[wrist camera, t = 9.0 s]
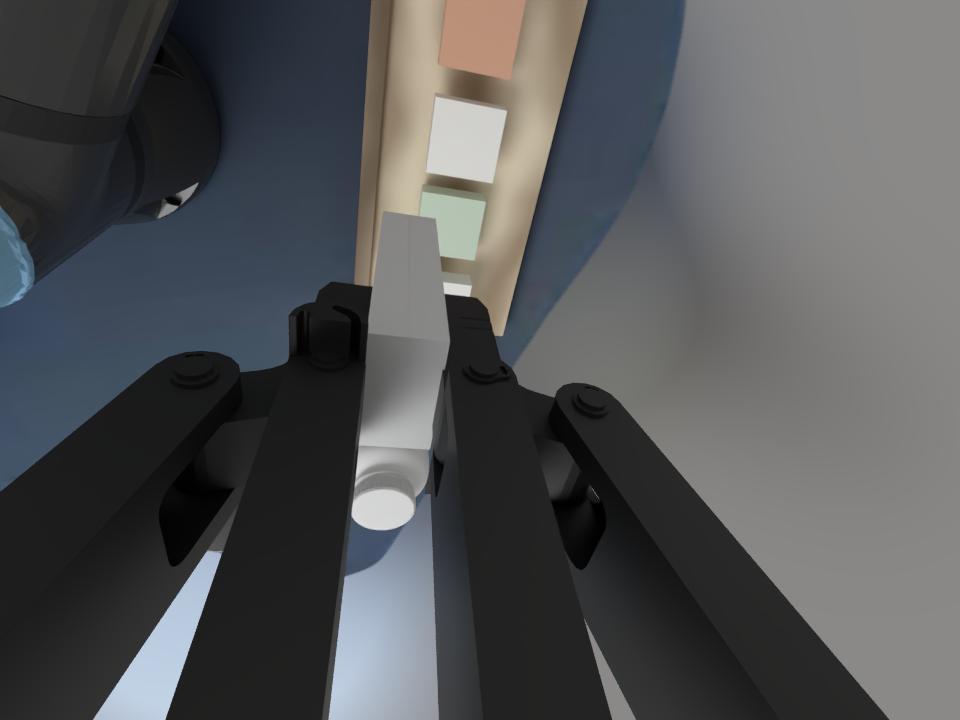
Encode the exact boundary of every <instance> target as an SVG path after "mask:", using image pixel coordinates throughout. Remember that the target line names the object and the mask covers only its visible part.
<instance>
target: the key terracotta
mask: <svg viewBox="0 0 960 720" xmlns="http://www.w3.org/2000/svg"><path fill="white" fill-rule="evenodd" d="M525 3H526V0H445V6H444V14H443V22H442V30H441V38H440V46H439V54H438V62H437V63H438V65H440V66H444V67H449V68H454V69H459V70H463V71H468V72H473V73H478V74H482V75H487V76H492V77H497V78H501V79H506V80H510V79H511V74H512V69H513V64H514V59H515V53H516V48H517V43H518V38H519V33H520V28H521V23H522V18H523V13H524V8H525Z"/></svg>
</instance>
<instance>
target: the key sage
mask: <svg viewBox="0 0 960 720" xmlns="http://www.w3.org/2000/svg"><path fill="white" fill-rule="evenodd" d="M485 205H486V200H485V198H484V195H483V194H481V193H475V192H469V191H463V190H456V189H450V188H444V187H438V186H432V185H426V184H422V188H421V196H420V204H419V212H418V216H422V217H428V218H435V219H436V225H437V234H438V242H439V251H440V256H444V257H451V258H459V259H466V260H473V261H474V260H475V255H476V250H477V245H478V240H479V235H480V230H481V225H482V220H483V215H484V210H485Z"/></svg>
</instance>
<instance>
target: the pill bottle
mask: <svg viewBox="0 0 960 720" xmlns="http://www.w3.org/2000/svg"><path fill="white" fill-rule="evenodd" d="M428 475H429V459H428V449H412V448H395V447H378V446H361V445H359V448H358V460H357V470H356V479H355V488H354V497H353V506H352V517H353V518H354V520H355V521H356V522H357V523H358V524H360V525H362V526H364V527H366V528H369V529H374V530H389V529H393V528H397V527H399V526H401V525H403V524H405V523H406V522H408V521H409V520H410V519H411V517H412V516H413V514H414V512H415V508H416V501H415V497H416V496H417V495H418V494H419V493H420V492H421V491H422V489H423V488H424V486H425V484H426V481H427V479H428Z"/></svg>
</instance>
